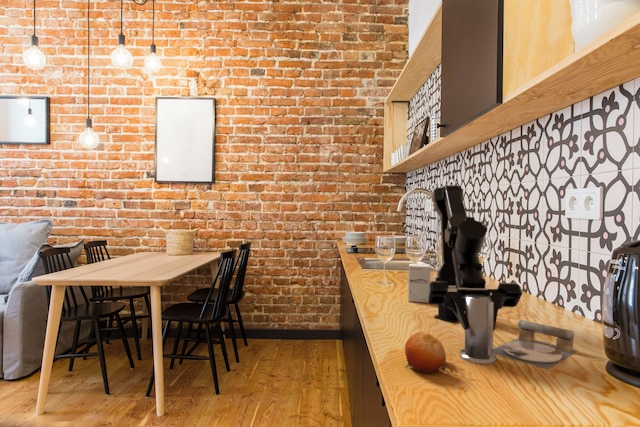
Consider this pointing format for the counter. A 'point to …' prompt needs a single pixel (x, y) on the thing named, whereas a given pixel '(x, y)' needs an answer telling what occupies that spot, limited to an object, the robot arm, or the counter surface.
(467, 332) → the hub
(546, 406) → the counter surface
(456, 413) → the counter surface
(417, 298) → the supplement box
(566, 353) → the board
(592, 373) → the counter surface
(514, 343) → the flange disc
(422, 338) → the fruit
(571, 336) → the bar handle
